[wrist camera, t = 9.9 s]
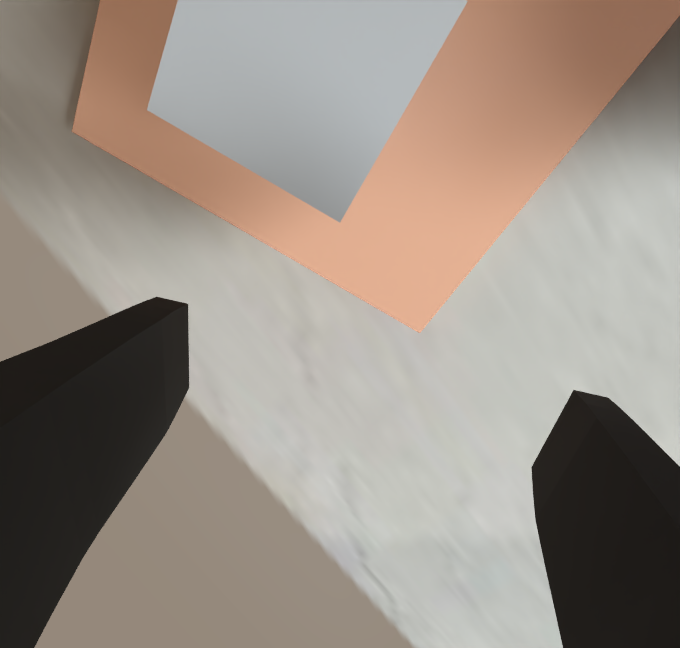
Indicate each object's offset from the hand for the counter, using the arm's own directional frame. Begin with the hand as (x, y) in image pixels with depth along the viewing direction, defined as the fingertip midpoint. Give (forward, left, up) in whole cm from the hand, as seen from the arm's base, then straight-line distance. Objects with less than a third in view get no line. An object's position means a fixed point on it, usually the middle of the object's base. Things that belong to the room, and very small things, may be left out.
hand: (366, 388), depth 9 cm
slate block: (+4, -4, -9) cm, 10 cm away
